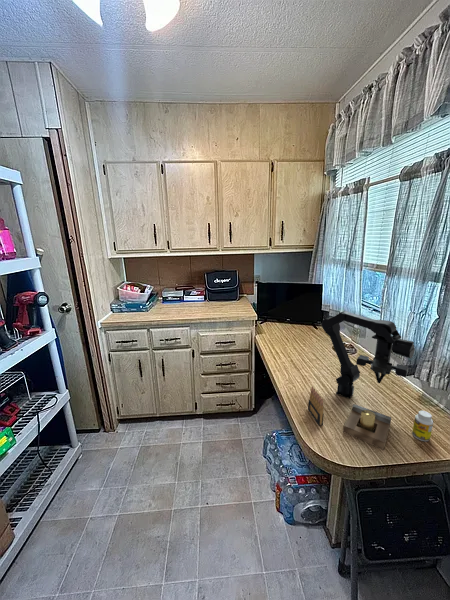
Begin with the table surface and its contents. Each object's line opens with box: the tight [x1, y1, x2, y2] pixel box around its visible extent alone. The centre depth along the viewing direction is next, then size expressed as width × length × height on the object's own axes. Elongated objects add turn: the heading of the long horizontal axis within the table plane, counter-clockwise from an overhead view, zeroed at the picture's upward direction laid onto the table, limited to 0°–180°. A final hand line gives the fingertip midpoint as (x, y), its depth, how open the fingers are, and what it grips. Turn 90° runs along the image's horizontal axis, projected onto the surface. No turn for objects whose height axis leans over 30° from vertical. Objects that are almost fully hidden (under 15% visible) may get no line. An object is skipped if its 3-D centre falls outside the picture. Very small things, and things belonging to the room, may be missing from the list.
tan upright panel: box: [307, 386, 325, 426], centre depth 110 cm, size 11×2×12 cm, turn 6°
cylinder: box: [359, 410, 375, 433], centre depth 102 cm, size 5×5×8 cm
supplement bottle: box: [411, 410, 434, 442], centre depth 98 cm, size 6×6×10 cm
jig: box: [342, 403, 392, 450], centre depth 103 cm, size 14×14×5 cm
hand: (378, 382), depth 114 cm, fingers closed
